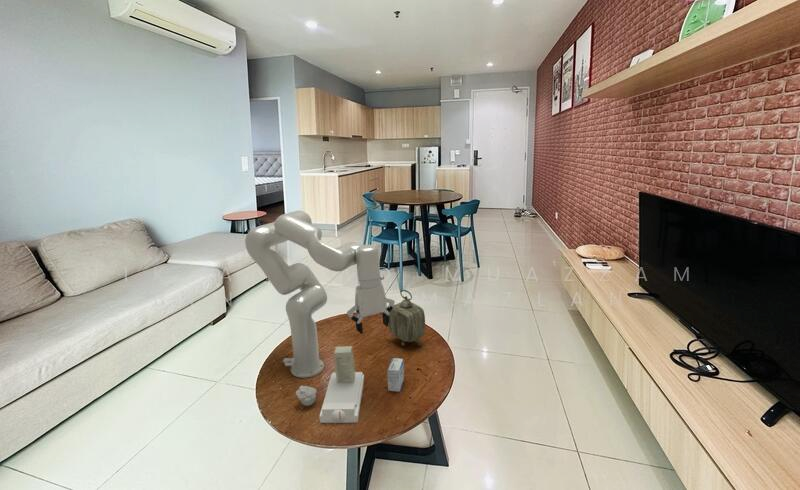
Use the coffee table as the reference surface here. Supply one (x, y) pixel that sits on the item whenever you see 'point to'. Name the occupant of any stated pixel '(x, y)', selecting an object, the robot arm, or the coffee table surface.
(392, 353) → the coffee table surface
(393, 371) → the medicine box
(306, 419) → the coffee table surface
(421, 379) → the coffee table surface
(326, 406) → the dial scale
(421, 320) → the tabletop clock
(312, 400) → the grey lumpy chunk
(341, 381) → the skincare box
